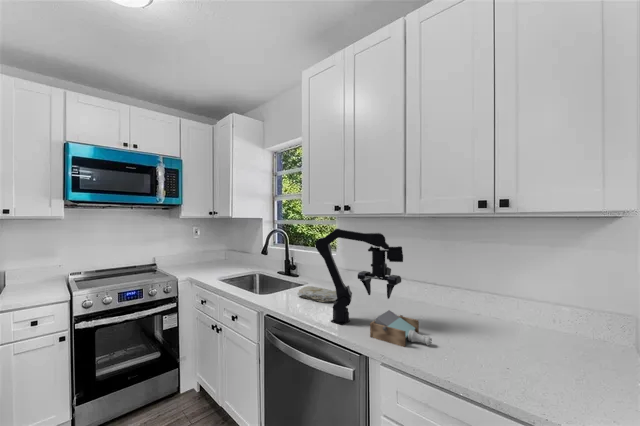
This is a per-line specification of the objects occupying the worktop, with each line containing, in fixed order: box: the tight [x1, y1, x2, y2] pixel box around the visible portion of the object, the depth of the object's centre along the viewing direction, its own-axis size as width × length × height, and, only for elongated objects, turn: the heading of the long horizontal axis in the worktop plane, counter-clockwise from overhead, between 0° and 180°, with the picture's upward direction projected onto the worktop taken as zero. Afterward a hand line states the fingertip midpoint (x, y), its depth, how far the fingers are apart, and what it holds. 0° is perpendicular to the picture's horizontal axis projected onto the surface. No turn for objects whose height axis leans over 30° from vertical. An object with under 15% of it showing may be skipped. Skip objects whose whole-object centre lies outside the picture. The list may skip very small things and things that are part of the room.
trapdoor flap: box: [375, 309, 416, 339], centre depth 115 cm, size 12×12×2 cm
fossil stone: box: [297, 285, 337, 303], centre depth 166 cm, size 28×15×5 cm, turn 52°
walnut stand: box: [369, 314, 420, 348], centre depth 116 cm, size 14×16×6 cm
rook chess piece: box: [407, 330, 433, 347], centre depth 108 cm, size 4×4×8 cm
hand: (378, 296), depth 128 cm, fingers open, 9 cm apart
